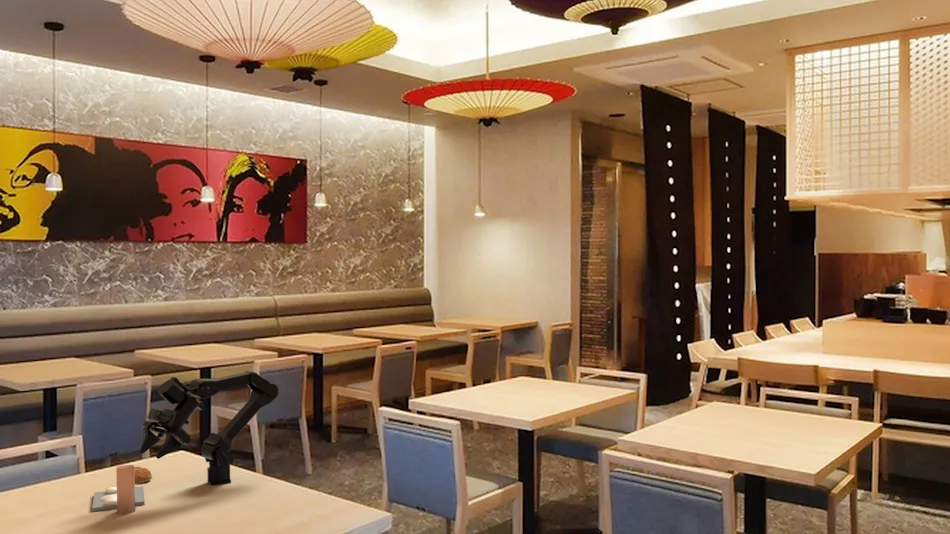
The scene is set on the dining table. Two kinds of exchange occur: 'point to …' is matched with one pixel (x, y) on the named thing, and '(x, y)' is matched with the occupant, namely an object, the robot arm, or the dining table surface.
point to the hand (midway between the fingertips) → (148, 455)
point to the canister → (125, 489)
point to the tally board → (114, 499)
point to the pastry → (142, 475)
